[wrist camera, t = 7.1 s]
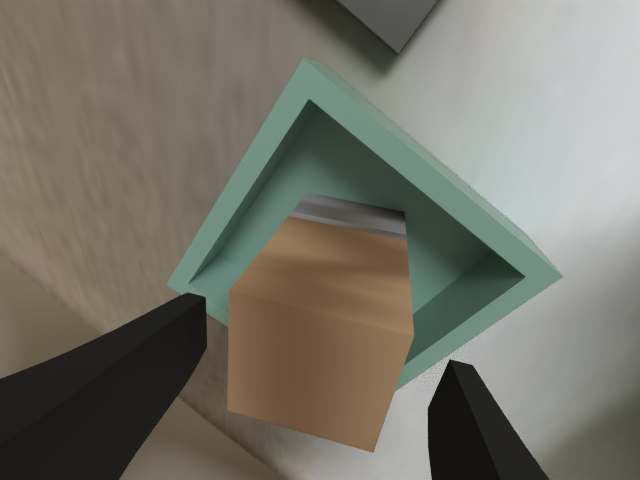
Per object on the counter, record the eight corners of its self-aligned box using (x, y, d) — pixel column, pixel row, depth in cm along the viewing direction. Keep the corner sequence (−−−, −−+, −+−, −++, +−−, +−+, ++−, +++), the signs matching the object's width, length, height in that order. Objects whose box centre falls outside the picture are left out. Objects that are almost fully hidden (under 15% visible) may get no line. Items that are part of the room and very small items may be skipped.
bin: (526, 234, 14) (563, 276, 11) (362, 364, 19) (356, 417, 16) (324, 63, 13) (302, 58, 10) (205, 250, 18) (166, 284, 15)
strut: (404, 211, 14) (414, 335, 7) (382, 293, 16) (373, 452, 9) (307, 192, 15) (228, 290, 8) (296, 273, 17) (227, 410, 10)
